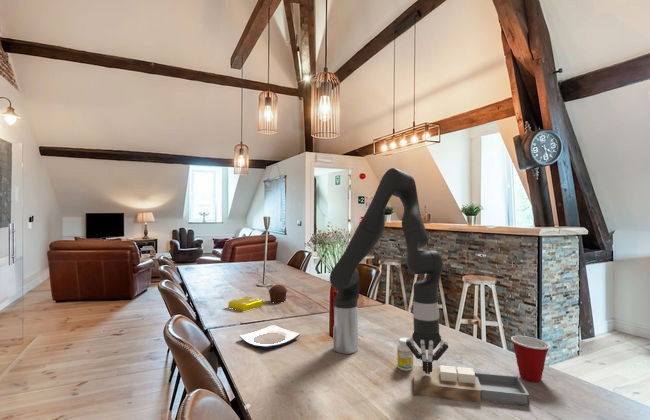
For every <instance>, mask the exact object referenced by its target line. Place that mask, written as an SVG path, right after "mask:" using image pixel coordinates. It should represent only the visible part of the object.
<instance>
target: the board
mask: <svg viewBox="0 0 650 420" xmlns="http://www.w3.org/2000/svg"><path fill="white" fill-rule="evenodd" d="M456 372H457V369H456ZM427 373H428V368H427ZM413 396H416V397H424V398H431V399H432V398H434V399H442V400H443V399H444V400H449V401H450V400H452V401H460V402H467V403H476V404H481V402H482V401H481V394H480V388H479V385H478V382H477V380H476V377H475V384H473V383H463V382H459V381H458V377H457V382H454V381H444V380H441V378H440V367H433V366H432V372H430V374H425V371H423V365H422V366H421V365H413Z"/></svg>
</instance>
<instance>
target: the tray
mask: <svg viewBox="0 0 650 420" xmlns="http://www.w3.org/2000/svg"><path fill="white" fill-rule="evenodd" d="M474 373H475V377H476V380H477V382H478V385H479V388H480V394H481V402H482V401H483V402H491V403H499V404H500V403H502V404H509V405H518V406H527V407H530V404H531V403H530V394H529V391H528V390H527V389H526V386H525V385H524V384H523V383H522V381H521V379H520V377H519V376H518V375H508V374H498V373H497V374H496V373H485V372H475V371H474Z"/></svg>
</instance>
